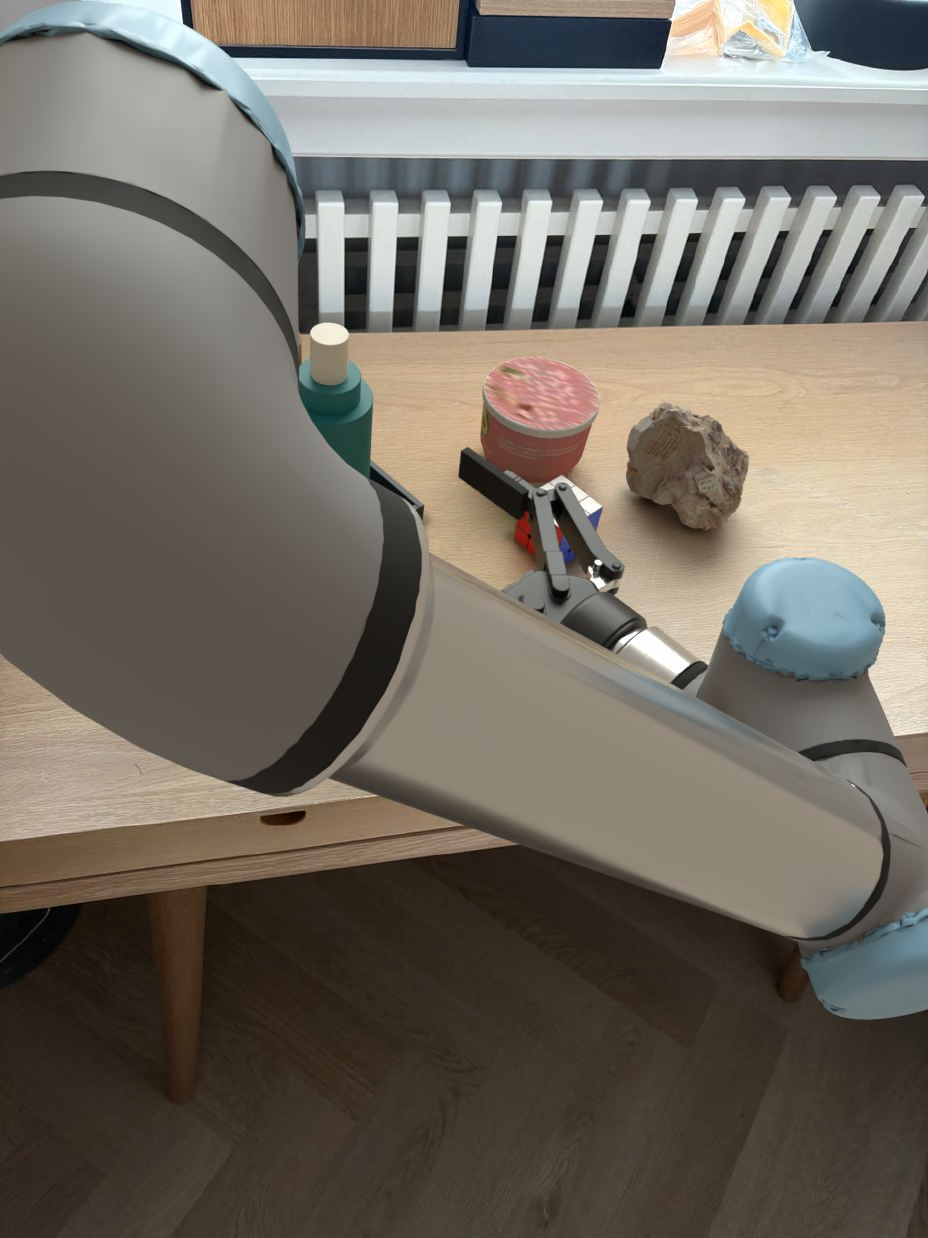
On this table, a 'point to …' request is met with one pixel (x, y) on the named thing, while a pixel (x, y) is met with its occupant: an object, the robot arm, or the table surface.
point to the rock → (686, 465)
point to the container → (536, 417)
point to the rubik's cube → (524, 530)
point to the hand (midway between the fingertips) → (398, 499)
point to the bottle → (337, 396)
